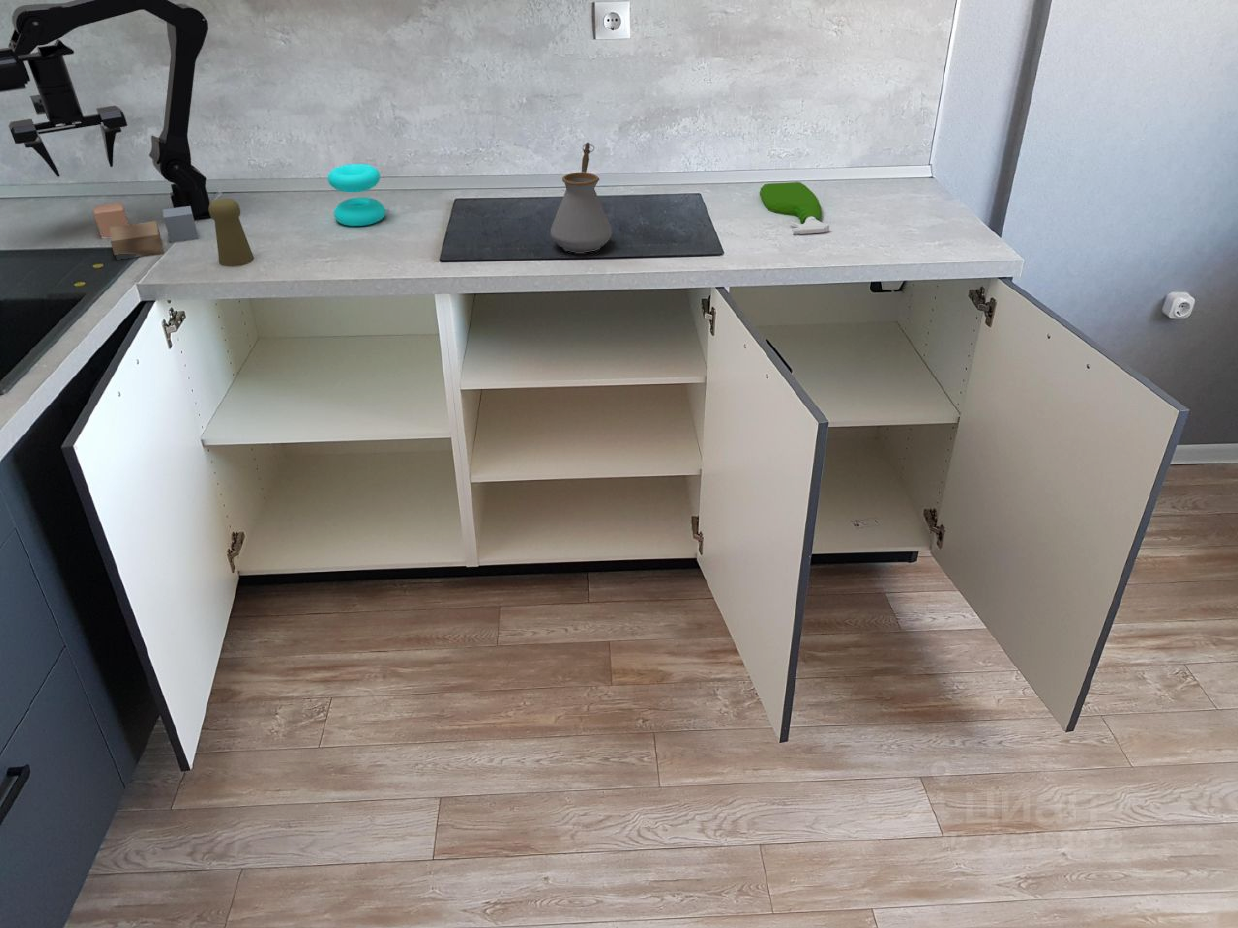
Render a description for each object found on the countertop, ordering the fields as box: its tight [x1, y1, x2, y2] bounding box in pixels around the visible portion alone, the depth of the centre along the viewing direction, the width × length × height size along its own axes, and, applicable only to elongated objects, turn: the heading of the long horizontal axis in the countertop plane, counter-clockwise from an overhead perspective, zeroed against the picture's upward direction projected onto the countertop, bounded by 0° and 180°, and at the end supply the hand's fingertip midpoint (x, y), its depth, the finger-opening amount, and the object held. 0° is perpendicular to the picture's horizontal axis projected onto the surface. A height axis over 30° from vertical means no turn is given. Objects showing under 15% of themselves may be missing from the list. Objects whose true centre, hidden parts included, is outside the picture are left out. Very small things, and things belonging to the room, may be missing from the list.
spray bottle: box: [759, 181, 830, 235], centre depth 190 cm, size 3×11×24 cm
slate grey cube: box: [162, 206, 200, 244], centre depth 181 cm, size 5×5×5 cm
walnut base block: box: [109, 220, 165, 257], centre depth 175 cm, size 8×8×4 cm
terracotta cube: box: [93, 202, 130, 239], centre depth 183 cm, size 5×5×5 cm
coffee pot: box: [550, 142, 613, 252], centre depth 176 cm, size 21×12×15 cm, turn 176°
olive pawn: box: [208, 198, 255, 267], centre depth 169 cm, size 6×6×11 cm
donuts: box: [327, 163, 386, 227], centre depth 186 cm, size 10×10×10 cm
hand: (85, 171), depth 177 cm, fingers open, 9 cm apart
